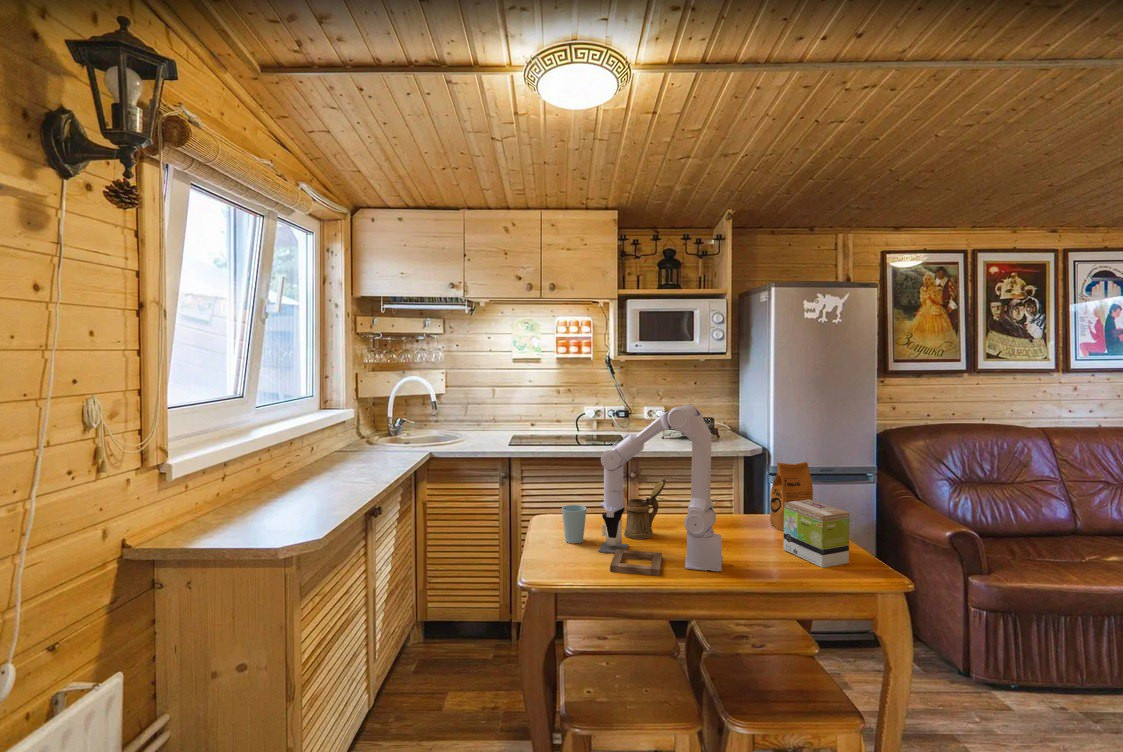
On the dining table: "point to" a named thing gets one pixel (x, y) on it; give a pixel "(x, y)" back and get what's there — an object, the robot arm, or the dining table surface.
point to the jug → (618, 537)
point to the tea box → (816, 532)
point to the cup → (574, 523)
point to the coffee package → (789, 490)
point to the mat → (611, 547)
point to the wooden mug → (642, 514)
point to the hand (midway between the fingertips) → (613, 534)
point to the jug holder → (636, 569)
